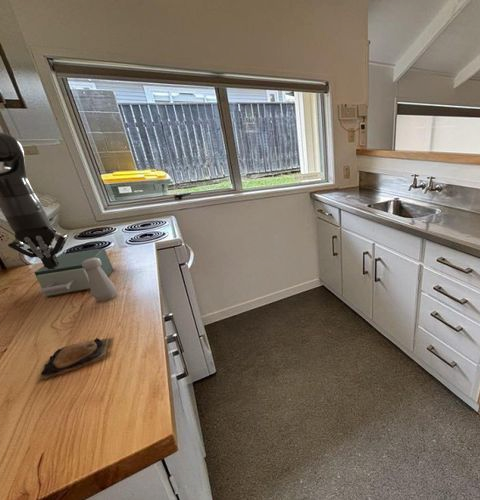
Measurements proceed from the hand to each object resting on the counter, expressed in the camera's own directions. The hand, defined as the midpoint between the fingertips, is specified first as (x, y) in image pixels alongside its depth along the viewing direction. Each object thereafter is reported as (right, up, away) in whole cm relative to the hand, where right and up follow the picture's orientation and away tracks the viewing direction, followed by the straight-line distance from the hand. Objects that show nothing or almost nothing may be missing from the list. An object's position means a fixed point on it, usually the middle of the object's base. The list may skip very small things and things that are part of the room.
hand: (53, 267), depth 84 cm
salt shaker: (+13, -10, +3) cm, 17 cm away
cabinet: (-3, -6, +13) cm, 15 cm away
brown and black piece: (+28, -19, -21) cm, 39 cm away
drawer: (-2, -7, +9) cm, 11 cm away
